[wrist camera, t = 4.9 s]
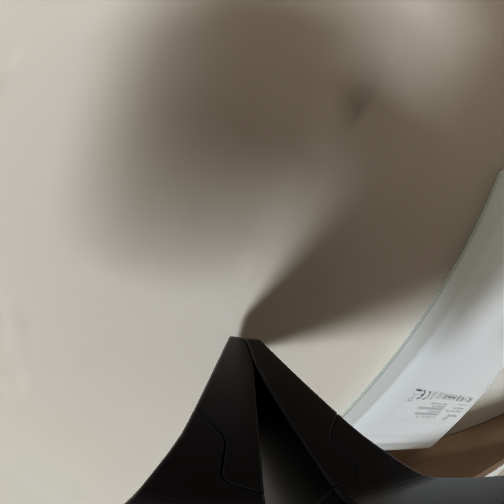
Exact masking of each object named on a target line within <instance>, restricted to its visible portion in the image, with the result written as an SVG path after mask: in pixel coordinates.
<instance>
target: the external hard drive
mask: <svg viewBox="0 0 504 504" xmlns="http://www.w3.org/2000/svg"><path fill="white" fill-rule="evenodd" d="M503 368H504V169H500V171H499V173H498V176H497V178H496V181H495V183H494V186H493V188H492V191H491V193H490V195H489V198H488V200H487V202H486V204H485V206H484V209H483V211H482V213H481V215H480V217H479V219H478V221H477V224H476V226H475V228H474V230H473V232H472V234H471V236H470V238H469V240H468V242H467V243H466V245H465V247H464V249H463V251H462V253H461V255H460V256H459V258H458V260H457V262H456V264H455V265H454V267H453V269H452V271H451V272H450V274H449V276H448V277H447V279H446V281H445V282H444V284H443V286H442V287H441V289H440V290H439V292H438V294H437V295H436V297H435V298H434V300H433V301H432V303H431V304H430V306H429V307H428V309H427V310H426V312H425V313H424V315H423V316H422V318H421V319H420V321H419V322H418V323H417V325H416V326H415V328H414V329H413V330H412V332H411V333H410V335H409V336H408V337H407V339H406V340H405V341H404V343H403V344H402V345H401V347H400V348H399V349H398V351H397V352H396V353H395V355H394V356H393V357H392V358H391V359H390V361H389V362H388V363H387V364H386V366H385V367H384V368H383V369H382V371H381V372H380V373H379V374H378V375H377V377H376V378H375V379H374V380H373V381H372V383H371V384H370V385H369V386H368V387H367V388H366V389H365V391H364V392H363V393H362V394H361V395H360V396H359V397H358V398H357V399H356V401H355V402H354V403H353V404H352V405H351V406H350V407H349V408H348V409H347V410H346V411H345V412H344V414H342V415H341V417H342V418H343V419H344V420H345V421H347V422H348V423H349V424H350V425H351V426H352V427H354V428H355V429H356V430H357V431H358V432H360V433H361V434H362V435H363V436H365V437H366V438H367V439H369V440H370V441H372V442H373V443H374V444H376V445H377V446H378V447H380V448H381V449H383V450H405V449H419V448H429V447H431V446H433V445H434V444H435V443H436V442H437V441H438V440H439V439H440V438H442V437H443V436H444V435H445V434H446V433H447V432H448V431H449V430H450V429H451V428H452V427H453V426H454V425H455V424H456V423H457V422H458V421H459V420H460V419H461V418H462V417H463V415H464V414H465V413H466V412H467V411H468V410H469V409H470V408H471V407H472V406H473V405H474V404H475V402H476V401H477V400H478V399H479V398H480V397H481V396H482V394H483V393H484V392H485V391H486V390H487V388H488V387H489V386H490V385H491V384H492V382H493V381H494V380H495V379H496V377H497V376H498V375H499V373H500V372H501V371H502V369H503Z"/></svg>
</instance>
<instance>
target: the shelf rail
mask: <svg viewBox="0 0 504 504" xmlns="http://www.w3.org/2000/svg"><path fill="white" fill-rule="evenodd" d="M387 453H389V454H390V455H392V456H393V457H395V458H396V459H398V460H399V461H401V462H402V463H404V464H405V465H407V466H408V467H410V468H411V469H413V470H415V471H417V472H419V473H421V474H423V475H427V476H430V477H436V478H476V477H485V476H486V475H488V474H489V473H491V472H493V471H494V470H496V469H497V468H499V467H500V466H502V465H503V464H504V414H503V415H501V416H498V417H496V418H494V419H492V420H489V421H487V422H484V423H482V424H479V425H477V426H474V427H472V428H469V429H466V430H464V431H461V432H458V433H455V434H452V435H449V436H446V437H443V438H440V439H439V440H438V441H437V442H436V443H435V444H434V445H433V446H431V447H429V448H419V449H405V450H396V451H391V452H387Z"/></svg>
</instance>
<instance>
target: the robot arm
mask: <svg viewBox="0 0 504 504" xmlns="http://www.w3.org/2000/svg"><path fill="white" fill-rule="evenodd" d="M125 504H504V476H493V477H476V478H436V477H430V476H427V475H423V474H421V473H419V472H417V471H415V470H413V469H411V468H410V467H408V466H407V465H405V464H404V463H402V462H401V461H399V460H398V459H396V458H395V457H393V456H392V455H390V454H389V453H387V452H386V451H384V450H383V449H381V448H380V447H378V446H377V445H376V444H374V443H373V442H372V441H370V440H369V439H367V438H366V437H365V436H363V435H362V434H361V433H360V432H358V431H357V430H356V429H355V428H354V427H352V426H351V425H350V424H349V423H348V422H347V421H345V420H344V419H343V418H342V417H341V416H340V415H337V413H336V412H335V411H334V410H333V409H332V408H331V407H330V406H329V405H328V404H326V403H325V402H324V401H323V400H322V399H321V398H320V397H319V396H318V395H317V394H316V393H315V392H313V391H312V390H311V389H310V388H309V387H308V386H307V385H306V384H305V383H304V382H303V381H302V380H301V379H300V378H299V377H298V376H297V375H295V374H294V373H293V372H292V371H291V370H290V369H289V368H288V367H287V366H286V365H285V364H284V363H283V362H282V361H281V360H280V359H279V358H278V357H277V356H276V355H275V354H274V353H273V352H272V351H271V350H270V349H269V348H268V347H267V346H266V345H265V344H264V343H263V342H262V341H260V340H258V339H249V338H247V339H244V338H240V337H233V336H231V337H229V339H228V341H227V343H226V346H225V348H224V350H223V352H222V354H221V356H220V358H219V360H218V362H217V364H216V366H215V368H214V370H213V372H212V375H211V377H210V379H209V381H208V383H207V385H206V387H205V389H204V391H203V393H202V395H201V397H200V399H199V401H198V403H197V405H196V407H195V410H194V411H193V413H192V415H191V417H190V419H189V421H188V423H187V425H186V426H185V428H184V430H183V432H182V434H181V435H180V437H179V438H178V440H177V441H176V443H175V444H174V445H173V447H172V448H171V450H170V451H169V453H168V454H167V455H166V456H165V458H164V459H163V460H162V461H161V463H160V464H159V465H158V467H157V468H156V469H155V470H154V472H153V473H152V474H151V475H150V477H149V478H148V479H147V480H146V482H145V483H144V484H143V485H142V486H141V488H140V489H139V490H138V491H137V492H136V493H135V494H134V495H133V496H132V497H131V498H130V499H129V500H128V501H127V502H126V503H125Z"/></svg>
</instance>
